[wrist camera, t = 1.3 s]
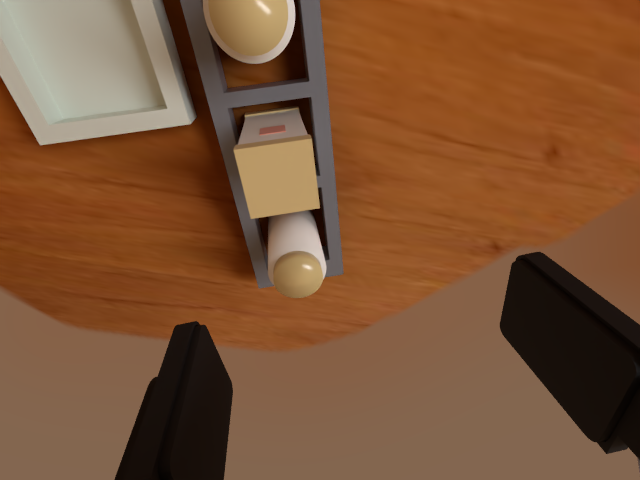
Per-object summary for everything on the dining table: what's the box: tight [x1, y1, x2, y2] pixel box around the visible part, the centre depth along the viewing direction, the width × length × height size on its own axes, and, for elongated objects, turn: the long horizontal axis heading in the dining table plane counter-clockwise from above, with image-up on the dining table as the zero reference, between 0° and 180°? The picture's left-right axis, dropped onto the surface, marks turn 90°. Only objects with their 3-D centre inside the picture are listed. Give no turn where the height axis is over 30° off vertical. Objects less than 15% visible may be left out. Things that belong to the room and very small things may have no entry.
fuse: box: [234, 106, 320, 219], centre depth 23 cm, size 4×4×10 cm
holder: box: [180, 0, 343, 288], centre depth 26 cm, size 27×8×2 cm, turn 6°
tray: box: [0, 0, 197, 145], centre depth 21 cm, size 10×10×2 cm
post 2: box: [268, 210, 326, 298], centre depth 27 cm, size 4×4×9 cm
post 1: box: [203, 0, 295, 64], centre depth 19 cm, size 4×4×9 cm
